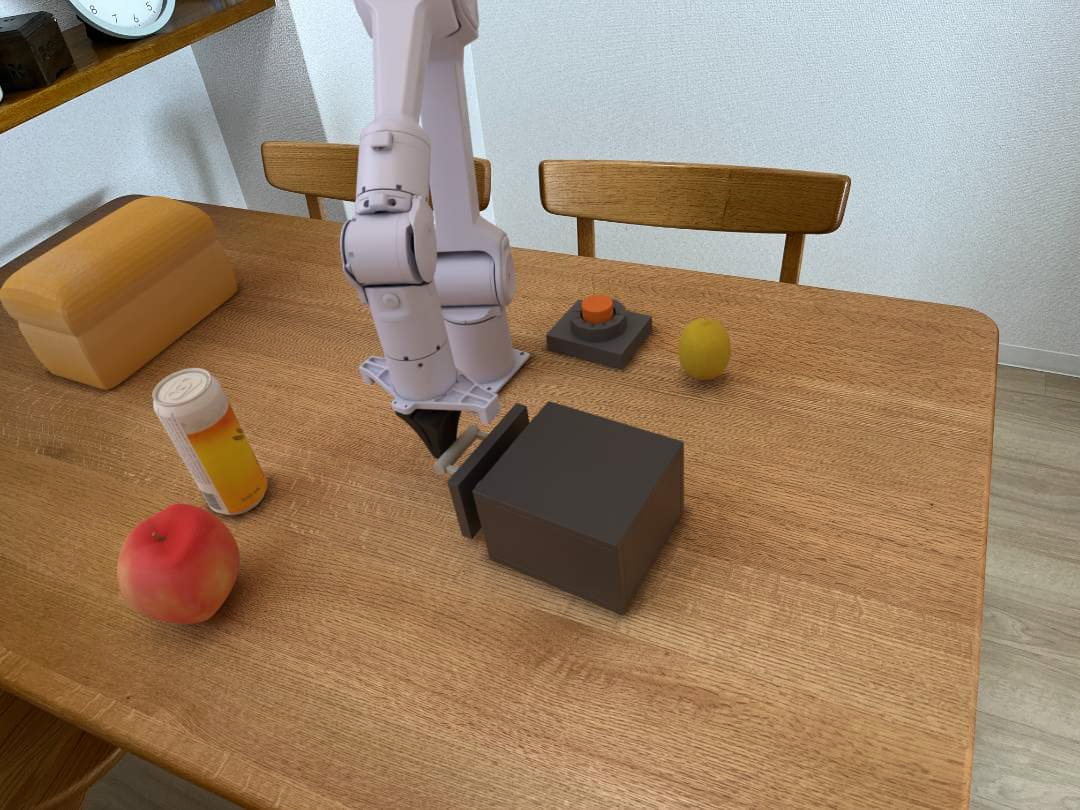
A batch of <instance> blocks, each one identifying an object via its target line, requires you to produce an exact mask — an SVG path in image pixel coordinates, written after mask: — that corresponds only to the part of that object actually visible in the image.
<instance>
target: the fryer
mask: <svg viewBox="0 0 1080 810" xmlns="http://www.w3.org/2000/svg"><path fill="white" fill-rule="evenodd" d="M534 416H535V417H534ZM534 416H533V418H534V419H533V418H532V419H533V420H532V419H531V420H532V421H531V420H530V421H529V422H530V423H529V425H528V426H527V427H526V428H525V429H524V430H523V432H522V433H521V434H520V435H519V436H518V438H517V439H516V440H515V441H514V442H513V444H512V445H511V446H510V447H509V448H508V449H507V451H506V452H505V453H504V454H503V455H502V457H501V458H500V459H499V460H498V461H497V463H496V464H495V465H494V466H493V467H492V468H491V470H490V471H489V472H488V473H487V474H486V476H485V477H484V478H483V479H482V480H481V482H480V483H479V484H478V485H477V486H476V488H475V489H474V490H473V495H474V499H475V503H476V507H477V511H478V515H479V518H480V522H481V526H482V528H481V530H482V534H483V538H484V541H485V545H486V550H487V553H488V557H489V560H492V561H494V562H496V563H499V564H500V565H503V566H506V567H507V568H510V569H512V570H515V571H517V572H519V573H522V574H524V575H527V576H528V577H532V578H533V579H536V580H539V581H541V582H542V583H545V584H548V585H550V586H552V587H555V588H557V589H560V590H562V591H565V592H566V593H569V594H571V595H574V596H576V597H579V598H581V599H583V600H585V601H588V602H590V603H593V604H595V605H597V606H599V607H602V608H604V609H606V610H608V611H611V612H614V613H616V614H619V615H620V616H624V615H625V613H626V611H627V610H628V608H629V607H630V605H631V603H632V601H633V600H634V598H635V596H636V594H637V593H638V591H639V589H640V588H641V586H642V584H643V583H644V581H645V579H646V578H647V576H648V574H649V573H650V571H651V569H652V568H653V566H654V564H655V562H656V561H657V559H658V557H659V555H660V554H661V552H662V551H663V549H664V547H665V546H666V544H667V542H668V540H669V538H670V537H671V535H672V534H673V532H674V531H675V528H676V527H677V525H678V523H679V522H680V520H681V518H682V517H683V515H684V513H685V449H684V448H685V442H684V441H682V440H679V439H676V438H672V437H669V436H666V435H664V434H663V435H662V434H659V433H656V432H653V431H649V430H647V429H643V428H639V427H636V426H634V425H630V424H627V423H623V422H620V421H616V420H613V419H611V418H606V417H604V416H600V415H597V414H595V413H590V412H586V411H583V410H581V409H577V408H574V407H570V406H567V405H563V404H560V403H558V402H555V401H550V400H548V401H547V402H546V403H545V404H544V405H543V406H542V408H541V409H540V410H539V412H538V413H537V414H536V415H534Z"/></svg>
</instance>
